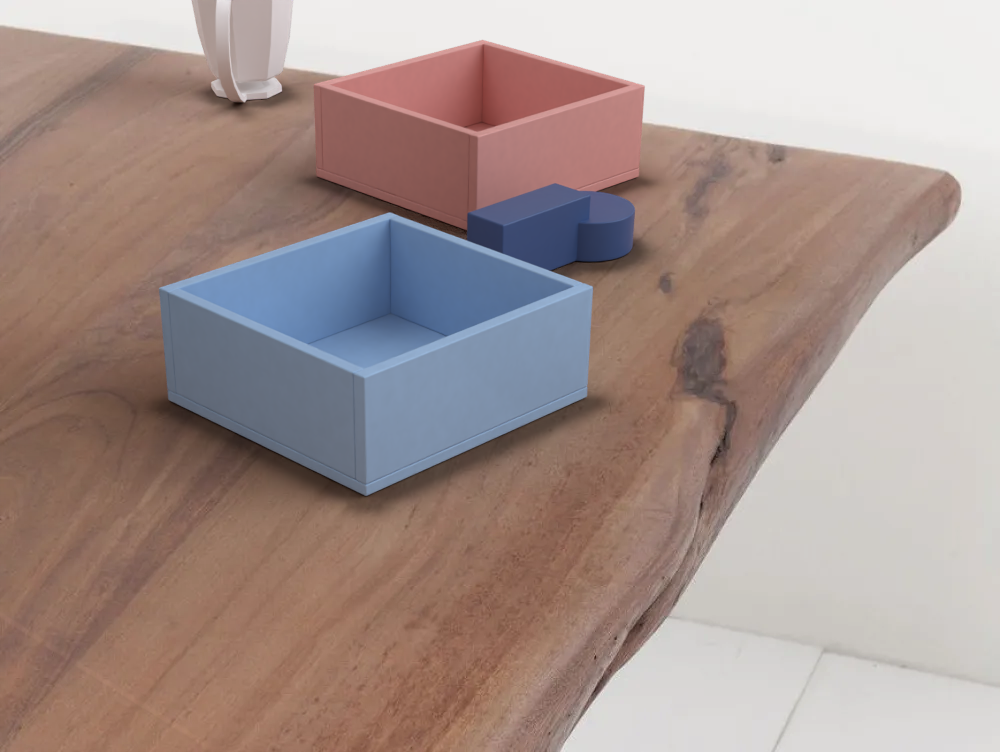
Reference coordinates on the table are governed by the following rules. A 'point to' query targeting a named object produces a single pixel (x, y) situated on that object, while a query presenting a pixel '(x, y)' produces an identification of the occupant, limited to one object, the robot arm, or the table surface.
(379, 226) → the blue bin
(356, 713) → the table surface
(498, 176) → the rose bin
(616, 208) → the dark blue rounded block
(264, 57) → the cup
